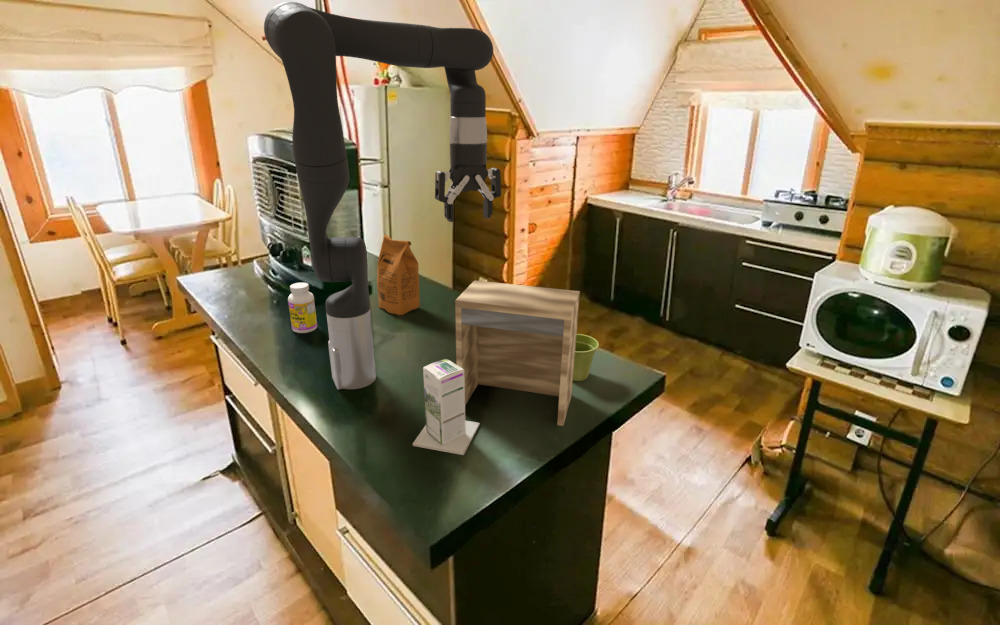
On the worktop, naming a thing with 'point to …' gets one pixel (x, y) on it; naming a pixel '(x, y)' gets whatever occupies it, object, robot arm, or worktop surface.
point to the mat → (452, 447)
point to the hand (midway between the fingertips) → (468, 219)
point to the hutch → (518, 339)
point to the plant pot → (583, 356)
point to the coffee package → (397, 277)
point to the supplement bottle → (302, 308)
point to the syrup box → (444, 400)
